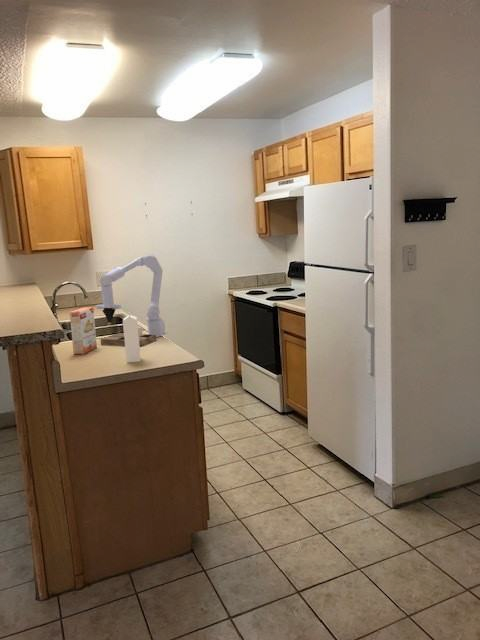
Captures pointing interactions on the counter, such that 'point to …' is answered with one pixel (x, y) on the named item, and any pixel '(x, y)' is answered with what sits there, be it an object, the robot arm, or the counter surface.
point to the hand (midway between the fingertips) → (110, 322)
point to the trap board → (119, 340)
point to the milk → (131, 338)
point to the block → (140, 330)
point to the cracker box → (83, 330)
